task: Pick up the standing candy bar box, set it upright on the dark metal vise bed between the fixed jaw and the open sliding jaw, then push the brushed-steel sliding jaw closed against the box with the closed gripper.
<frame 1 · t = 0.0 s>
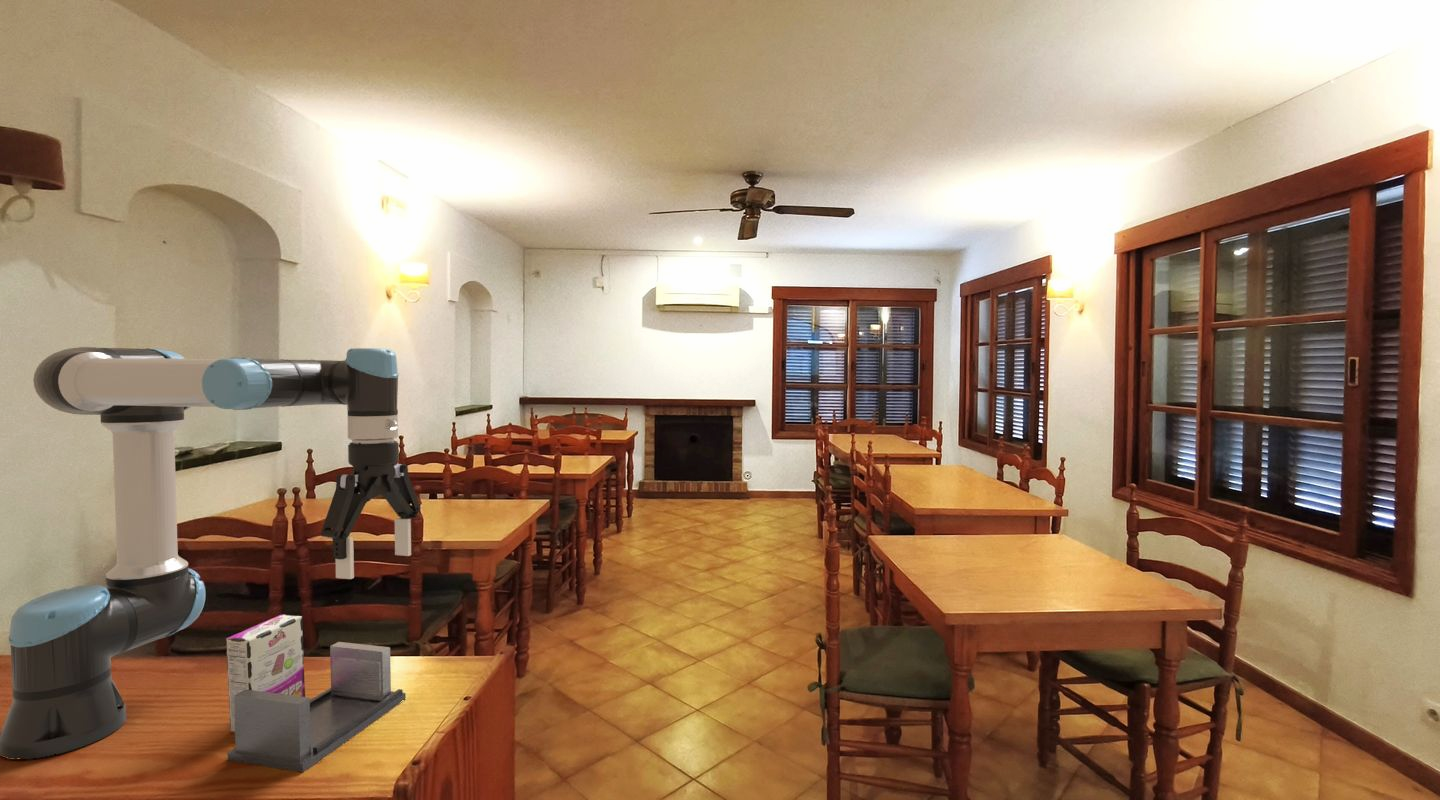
hand: (375, 566, 112), 28 cm above the table, tool pointing down, fingers open, 13 cm apart
sliding jaw: (371, 664, 124), point 6 cm above the table, slide at 5.5 cm
vise: (324, 727, 113), on the table
candy bar box: (268, 718, 116), on the table
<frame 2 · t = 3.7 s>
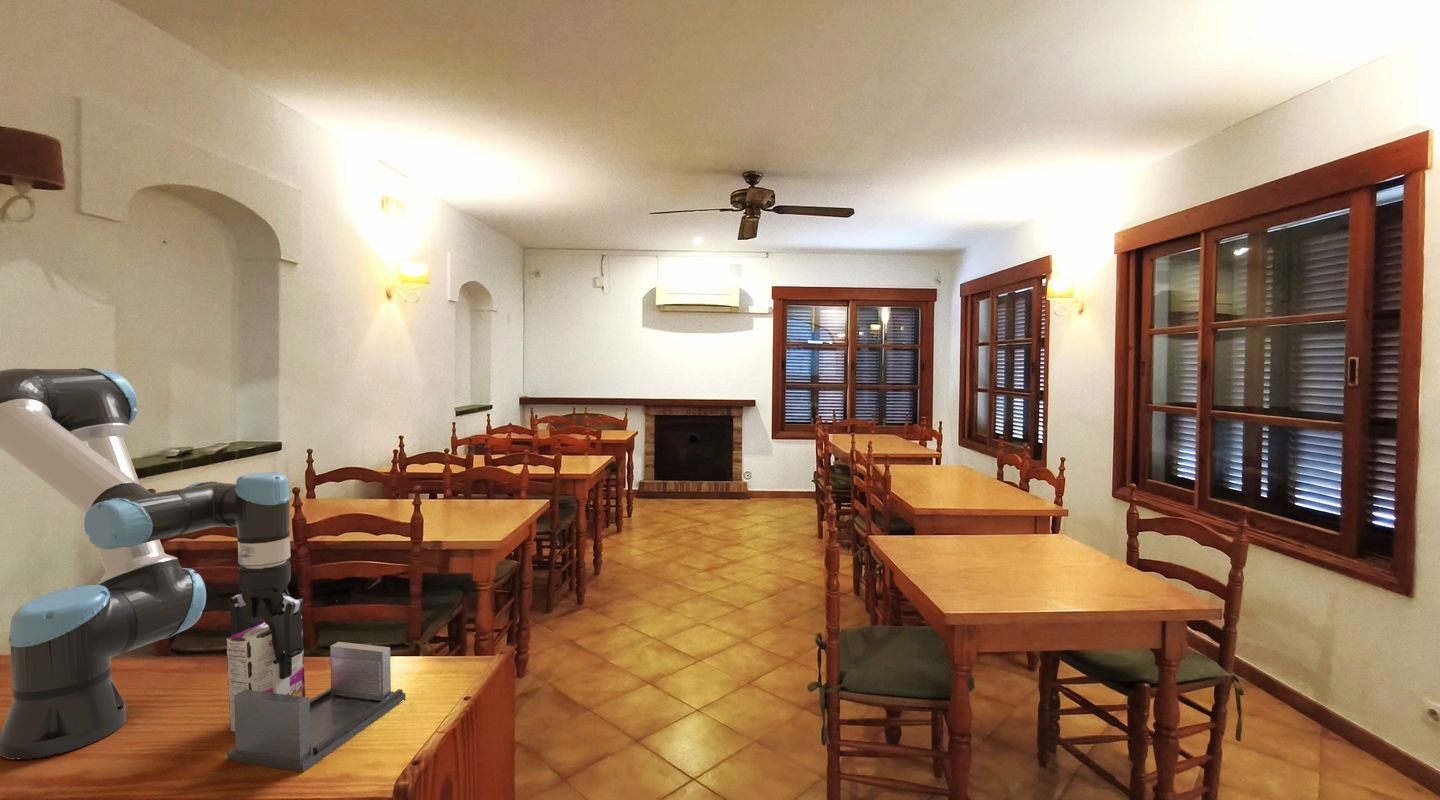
hand: (267, 693, 116), 4 cm above the table, tool pointing down, fingers closed on candy bar box, 5 cm apart
candy bar box: (268, 718, 116), on the table, touching gripper
everything else where it was.
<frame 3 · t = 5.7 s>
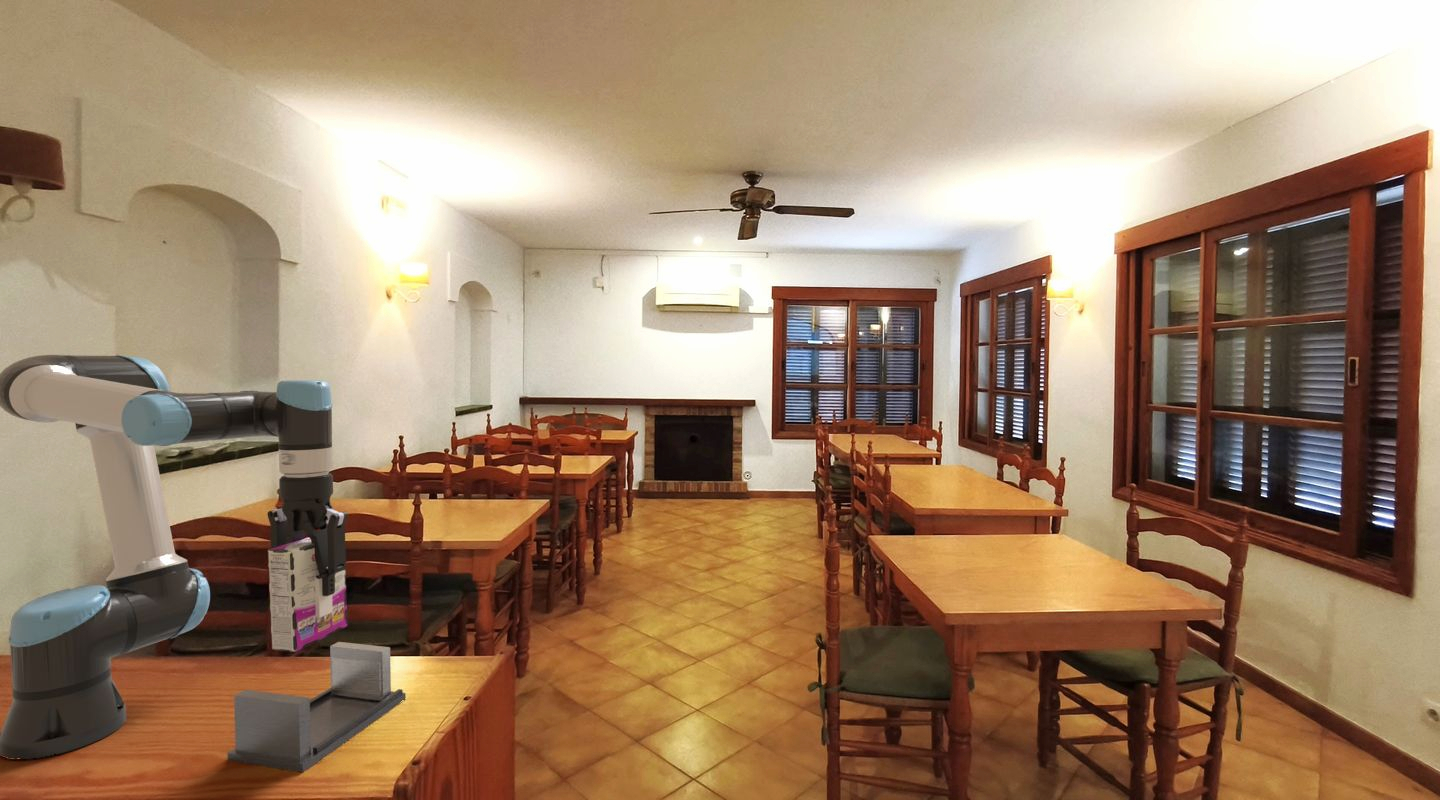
hand: (309, 612, 110), 21 cm above the table, tool pointing down, fingers closed on candy bar box, 5 cm apart
candy bar box: (310, 639, 110), point 16 cm above the table, touching gripper
everything else where it was.
when the fingers open (6 cm above the table, at t = 8.1 s): candy bar box stays where it is, resting on vise.
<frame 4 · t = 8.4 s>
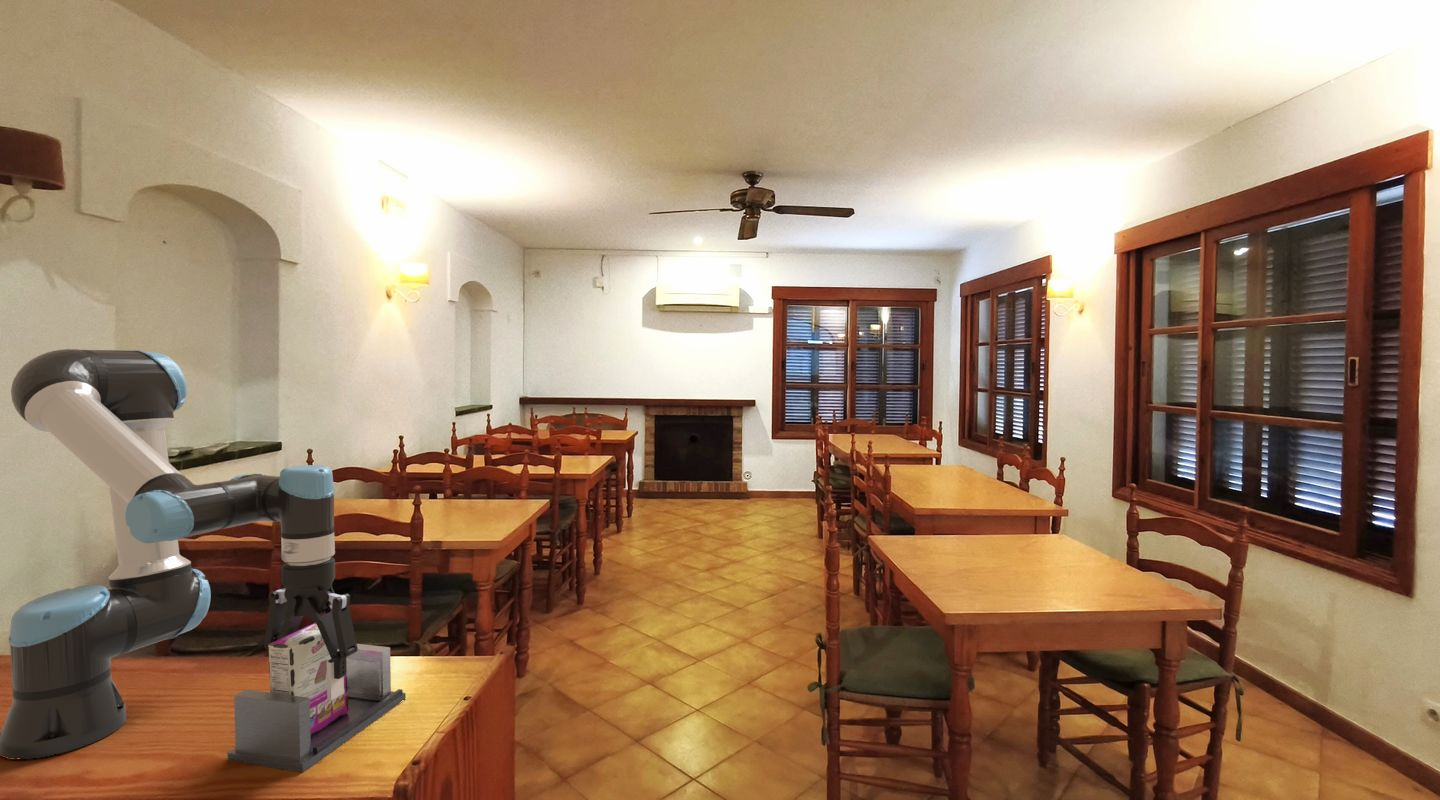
hand: (311, 693, 111), 7 cm above the table, tool pointing down, fingers open, 9 cm apart
candy bar box: (311, 728, 111), point 1 cm above the table, touching vise
everything else where it was.
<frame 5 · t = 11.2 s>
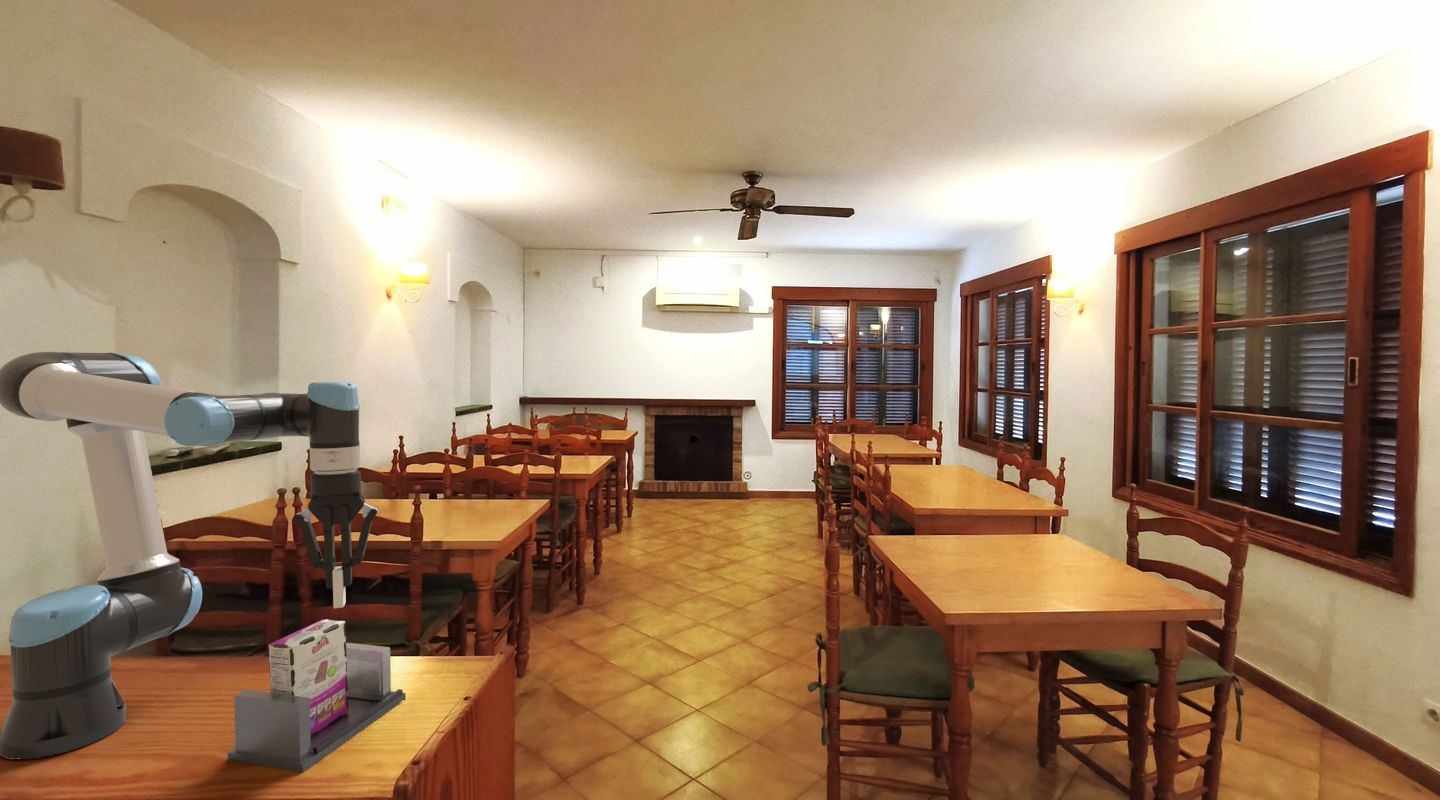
hand: (339, 605, 116), 20 cm above the table, tool pointing down, fingers closed
nothing on the table moved.
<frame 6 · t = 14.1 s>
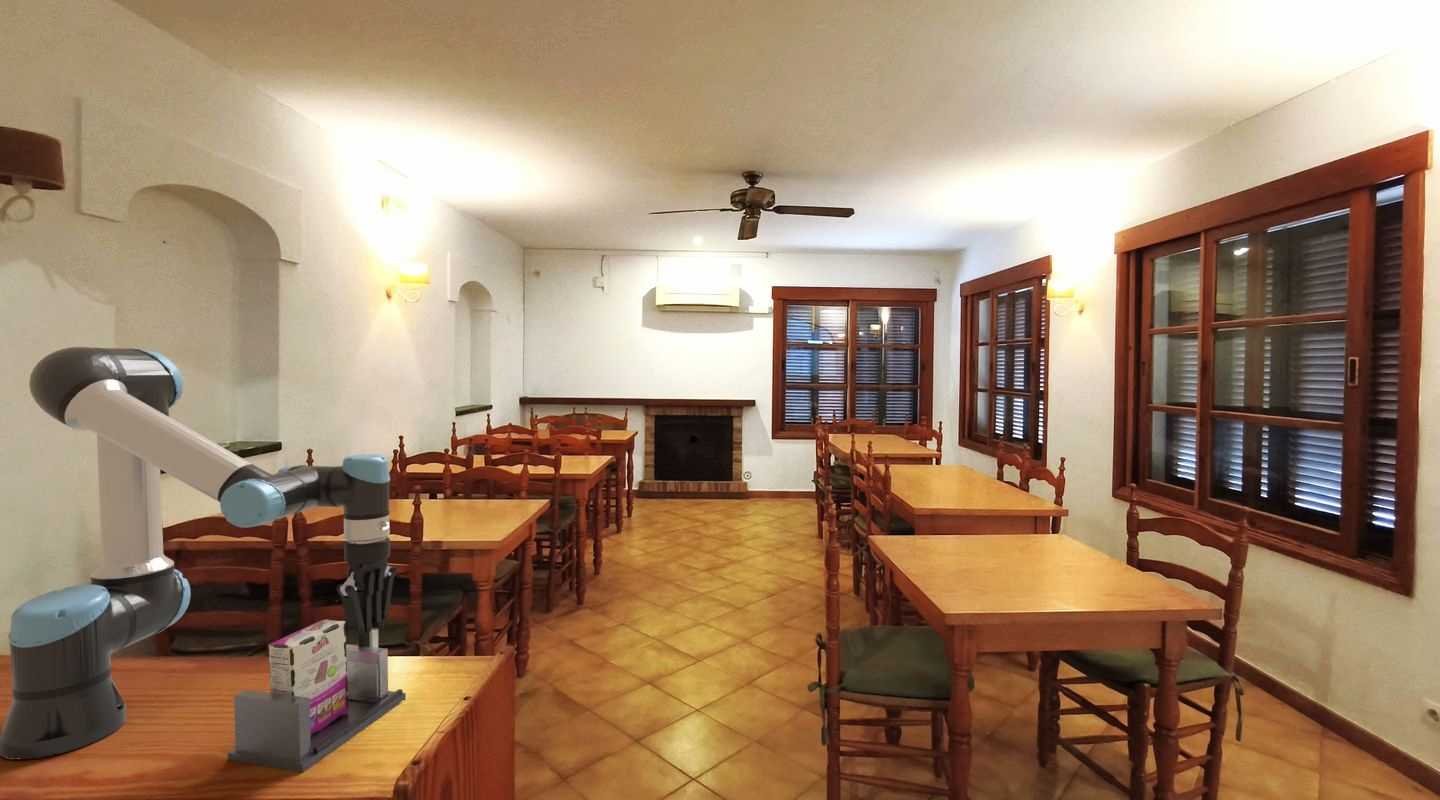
hand: (369, 663, 124), 6 cm above the table, tool pointing down, fingers closed
sliding jaw: (368, 666, 123), point 6 cm above the table, slide at 4.8 cm, touching gripper
everything else where it was.
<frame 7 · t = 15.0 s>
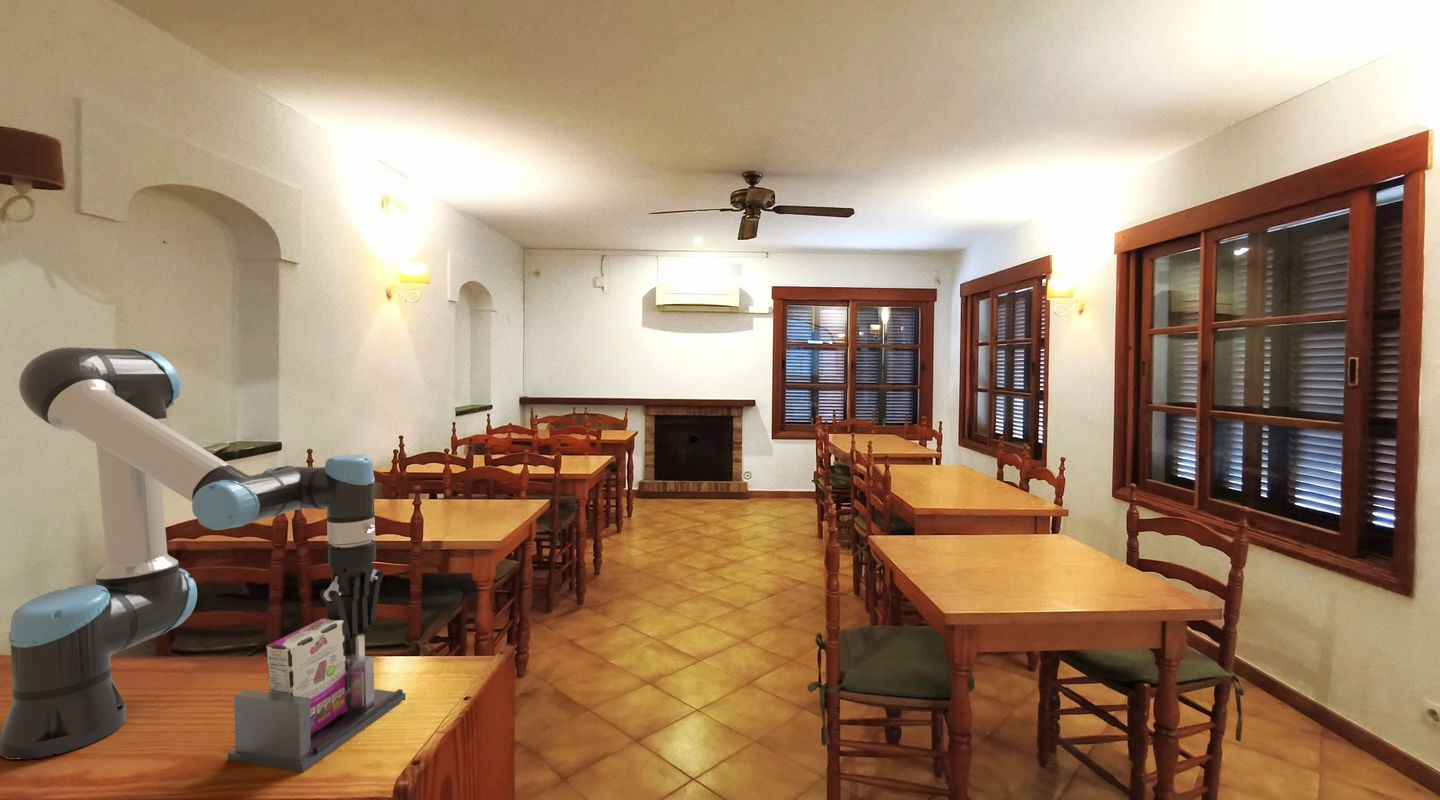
hand: (355, 670, 120), 7 cm above the table, tool pointing down, fingers closed
sliding jaw: (354, 674, 120), point 6 cm above the table, slide at 1.3 cm, touching gripper
candy bar box: (311, 727, 111), point 1 cm above the table, touching hand, vise
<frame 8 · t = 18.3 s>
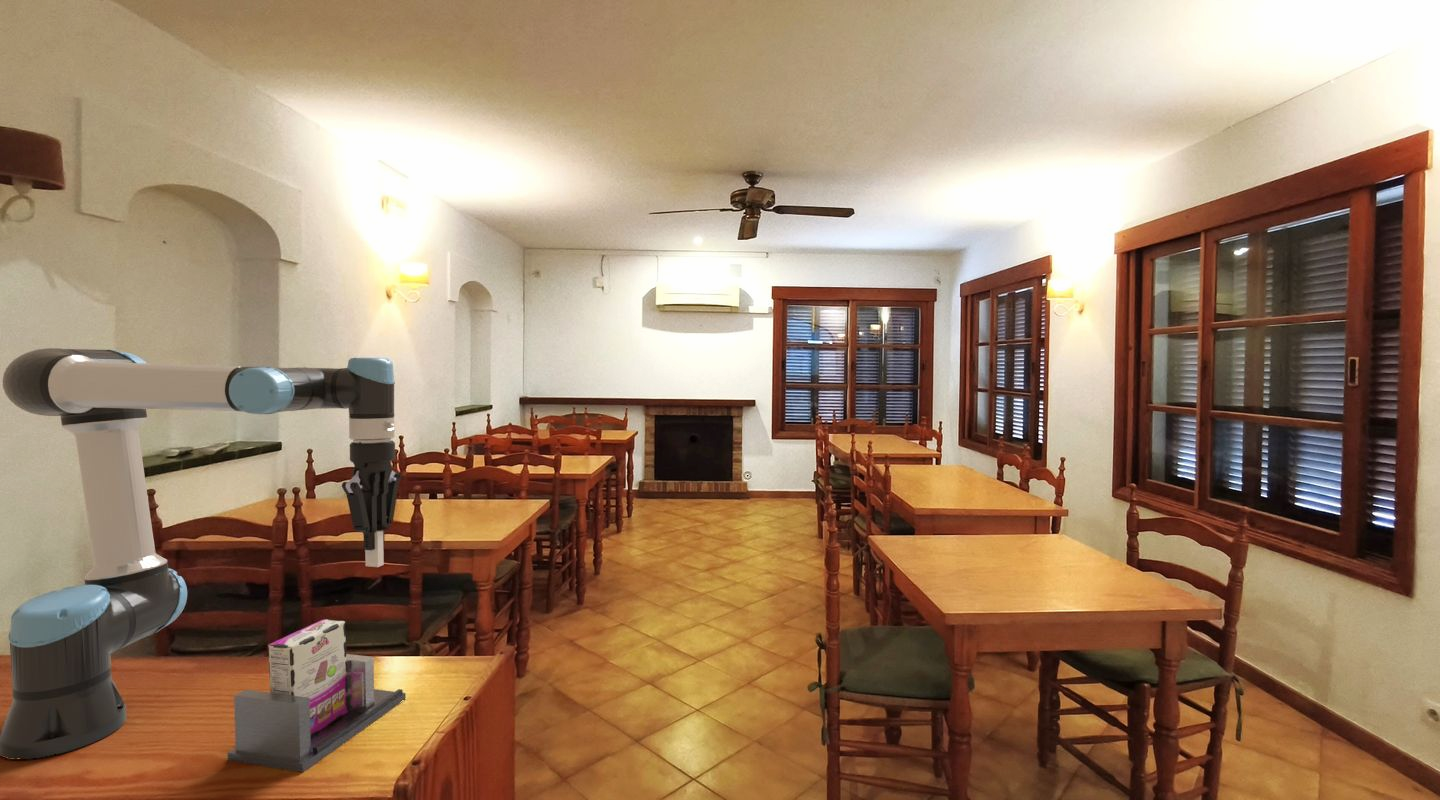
hand: (374, 565, 124), 24 cm above the table, tool pointing down, fingers closed
sliding jaw: (354, 674, 120), point 6 cm above the table, slide at 1.3 cm
candy bar box: (310, 729, 111), point 1 cm above the table, touching vise
at the end: sliding jaw slide at 1.3 cm; candy bar box inside the target area (0.3 cm from its centre), point 1.0 cm above the table; candy bar box tilted 0° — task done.
